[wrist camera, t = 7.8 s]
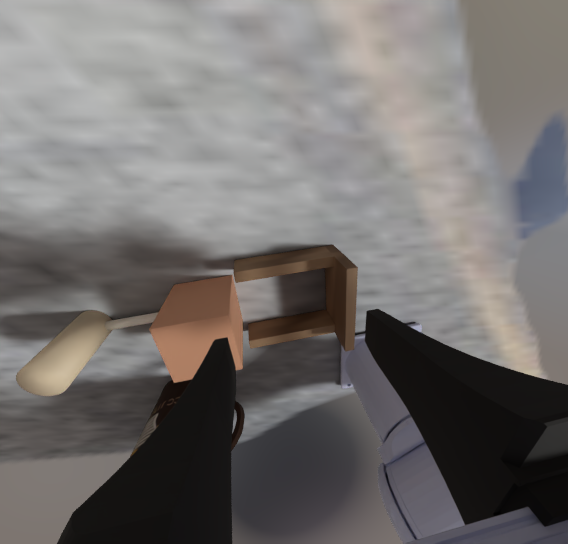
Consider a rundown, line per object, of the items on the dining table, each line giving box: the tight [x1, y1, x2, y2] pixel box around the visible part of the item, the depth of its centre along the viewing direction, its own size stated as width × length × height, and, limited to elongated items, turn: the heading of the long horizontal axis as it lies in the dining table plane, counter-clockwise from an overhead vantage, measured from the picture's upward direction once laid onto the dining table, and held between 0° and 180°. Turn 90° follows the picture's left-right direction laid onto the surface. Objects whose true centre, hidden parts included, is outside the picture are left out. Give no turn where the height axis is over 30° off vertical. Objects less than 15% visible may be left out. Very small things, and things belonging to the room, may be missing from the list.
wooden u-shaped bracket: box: [234, 245, 358, 351], centre depth 20 cm, size 9×8×5 cm
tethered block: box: [16, 275, 243, 396], centre depth 18 cm, size 14×5×6 cm, turn 96°
